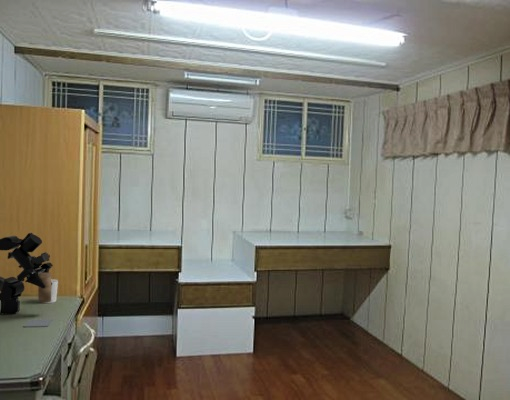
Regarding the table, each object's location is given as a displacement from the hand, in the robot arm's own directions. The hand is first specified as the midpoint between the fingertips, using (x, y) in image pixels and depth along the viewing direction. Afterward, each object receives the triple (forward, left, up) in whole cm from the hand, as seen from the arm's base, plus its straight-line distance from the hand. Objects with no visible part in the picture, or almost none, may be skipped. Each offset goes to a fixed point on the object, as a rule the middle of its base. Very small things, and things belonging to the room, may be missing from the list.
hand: (48, 286), depth 200 cm
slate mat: (-1, -12, -13) cm, 17 cm away
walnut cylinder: (-1, 0, -7) cm, 7 cm away
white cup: (-5, +23, -13) cm, 27 cm away
